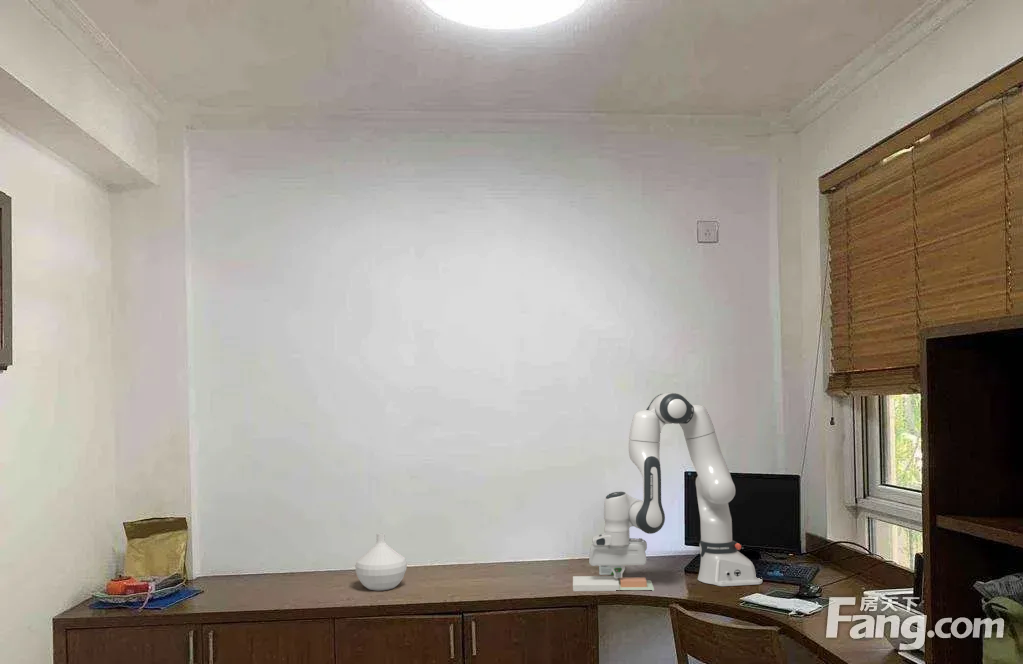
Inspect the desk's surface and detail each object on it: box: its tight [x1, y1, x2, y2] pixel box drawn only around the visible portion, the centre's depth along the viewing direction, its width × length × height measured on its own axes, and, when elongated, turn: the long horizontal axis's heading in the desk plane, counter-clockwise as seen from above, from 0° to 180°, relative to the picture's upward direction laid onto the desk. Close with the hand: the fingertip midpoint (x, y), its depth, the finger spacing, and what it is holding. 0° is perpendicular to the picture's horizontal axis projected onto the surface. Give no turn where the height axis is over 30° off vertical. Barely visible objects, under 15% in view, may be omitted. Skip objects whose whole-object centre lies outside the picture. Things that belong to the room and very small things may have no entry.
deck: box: [572, 575, 619, 592], centre depth 307 cm, size 16×13×2 cm
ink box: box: [598, 566, 622, 576], centre depth 326 cm, size 9×5×12 cm, turn 84°
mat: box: [618, 579, 655, 592], centre depth 306 cm, size 12×13×1 cm
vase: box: [354, 532, 408, 591], centre depth 313 cm, size 18×18×19 cm
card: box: [619, 576, 647, 587], centre depth 306 cm, size 9×6×2 cm, turn 86°
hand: (618, 578), depth 307 cm, fingers closed
